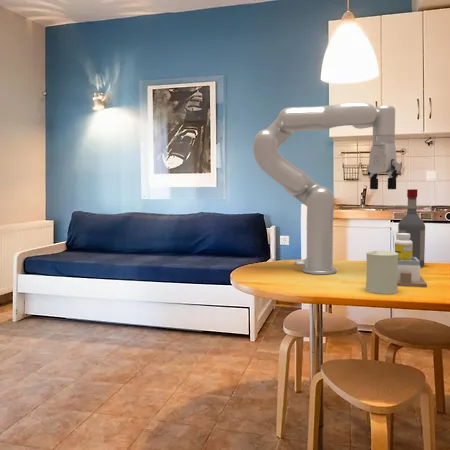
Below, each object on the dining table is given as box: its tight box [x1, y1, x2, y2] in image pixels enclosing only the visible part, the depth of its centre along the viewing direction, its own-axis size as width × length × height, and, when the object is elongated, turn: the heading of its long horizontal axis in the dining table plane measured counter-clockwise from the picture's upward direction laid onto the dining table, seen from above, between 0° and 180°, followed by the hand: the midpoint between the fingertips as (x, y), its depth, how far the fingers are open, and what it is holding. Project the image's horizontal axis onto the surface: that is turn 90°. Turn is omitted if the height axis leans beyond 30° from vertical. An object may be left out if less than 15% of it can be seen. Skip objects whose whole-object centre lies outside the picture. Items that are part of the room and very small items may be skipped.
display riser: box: [397, 257, 428, 288], centre depth 148 cm, size 12×16×8 cm
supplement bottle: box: [394, 232, 413, 261], centre depth 147 cm, size 5×5×10 cm
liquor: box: [397, 189, 426, 268], centre depth 175 cm, size 9×9×30 cm
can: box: [365, 250, 399, 295], centre depth 135 cm, size 9×9×12 cm
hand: (382, 189), depth 162 cm, fingers open, 9 cm apart
